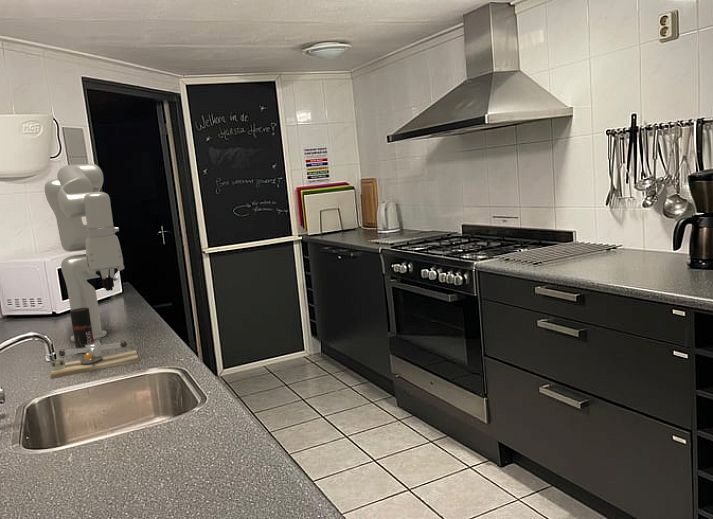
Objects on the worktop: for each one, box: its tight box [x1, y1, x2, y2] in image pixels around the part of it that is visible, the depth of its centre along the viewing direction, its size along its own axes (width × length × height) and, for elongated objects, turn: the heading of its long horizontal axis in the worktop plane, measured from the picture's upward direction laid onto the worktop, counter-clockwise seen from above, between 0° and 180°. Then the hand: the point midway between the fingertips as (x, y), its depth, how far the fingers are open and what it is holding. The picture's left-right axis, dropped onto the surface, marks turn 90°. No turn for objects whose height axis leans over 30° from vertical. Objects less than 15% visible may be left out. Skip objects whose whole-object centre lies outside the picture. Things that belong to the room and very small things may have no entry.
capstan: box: [58, 337, 128, 364], centre depth 189 cm, size 20×20×5 cm
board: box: [50, 349, 140, 379], centre depth 189 cm, size 11×25×4 cm, turn 114°
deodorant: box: [69, 308, 95, 355], centre depth 206 cm, size 6×6×15 cm
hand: (109, 289), depth 190 cm, fingers closed
